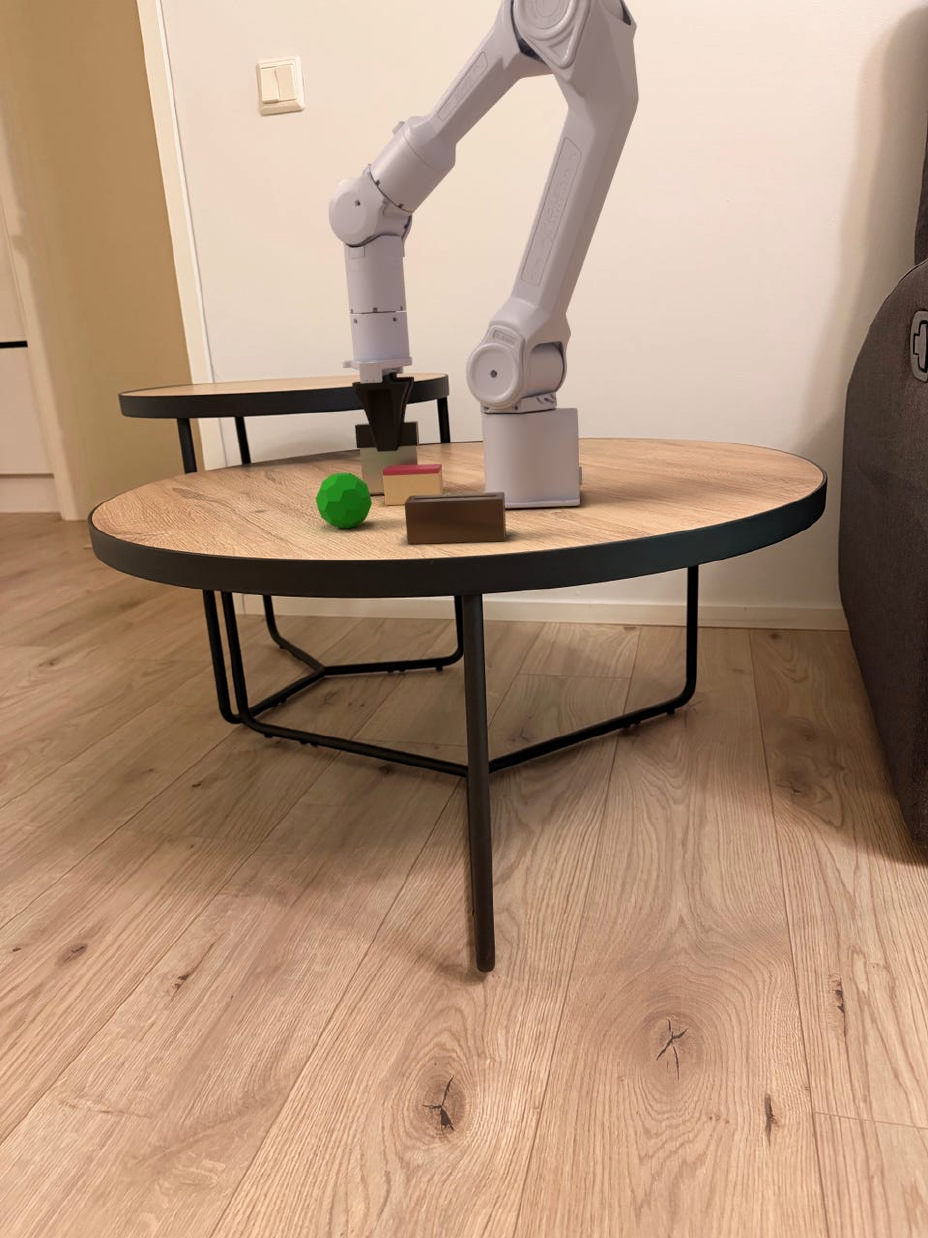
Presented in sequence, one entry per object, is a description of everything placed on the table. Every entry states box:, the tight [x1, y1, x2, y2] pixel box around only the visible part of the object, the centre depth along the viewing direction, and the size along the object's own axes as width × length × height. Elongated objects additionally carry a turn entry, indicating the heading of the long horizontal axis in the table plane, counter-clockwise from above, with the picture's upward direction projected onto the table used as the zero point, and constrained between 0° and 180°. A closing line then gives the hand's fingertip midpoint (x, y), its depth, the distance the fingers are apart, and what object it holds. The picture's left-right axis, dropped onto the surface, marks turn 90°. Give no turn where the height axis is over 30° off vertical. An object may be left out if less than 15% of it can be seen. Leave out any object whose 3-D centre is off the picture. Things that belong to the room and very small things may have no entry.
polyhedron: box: [315, 472, 373, 529], centre depth 83 cm, size 5×5×5 cm
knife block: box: [404, 492, 507, 545], centre depth 76 cm, size 8×3×4 cm, turn 85°
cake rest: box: [383, 463, 445, 506], centre depth 93 cm, size 6×3×4 cm, turn 85°
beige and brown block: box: [354, 420, 420, 493], centre depth 97 cm, size 6×2×7 cm, turn 85°
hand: (389, 449), depth 96 cm, fingers closed on beige and brown block, 2 cm apart
